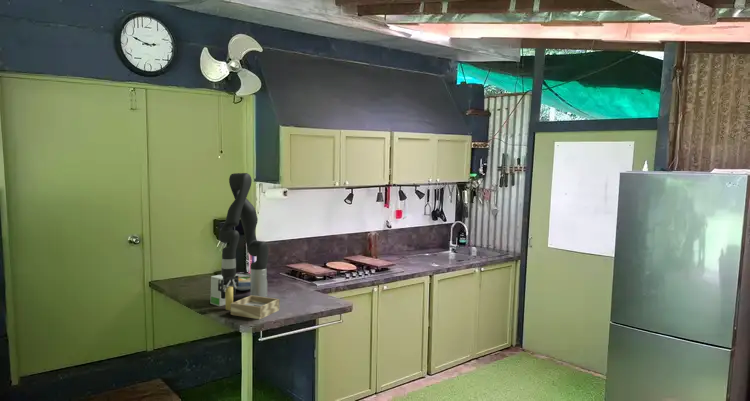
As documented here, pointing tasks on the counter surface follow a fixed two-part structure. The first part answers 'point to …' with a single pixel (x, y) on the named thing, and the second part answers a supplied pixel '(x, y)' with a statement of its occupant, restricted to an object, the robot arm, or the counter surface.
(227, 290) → the peg
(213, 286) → the skincare box
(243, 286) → the ramen bowl
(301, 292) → the counter surface
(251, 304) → the box
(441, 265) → the counter surface
